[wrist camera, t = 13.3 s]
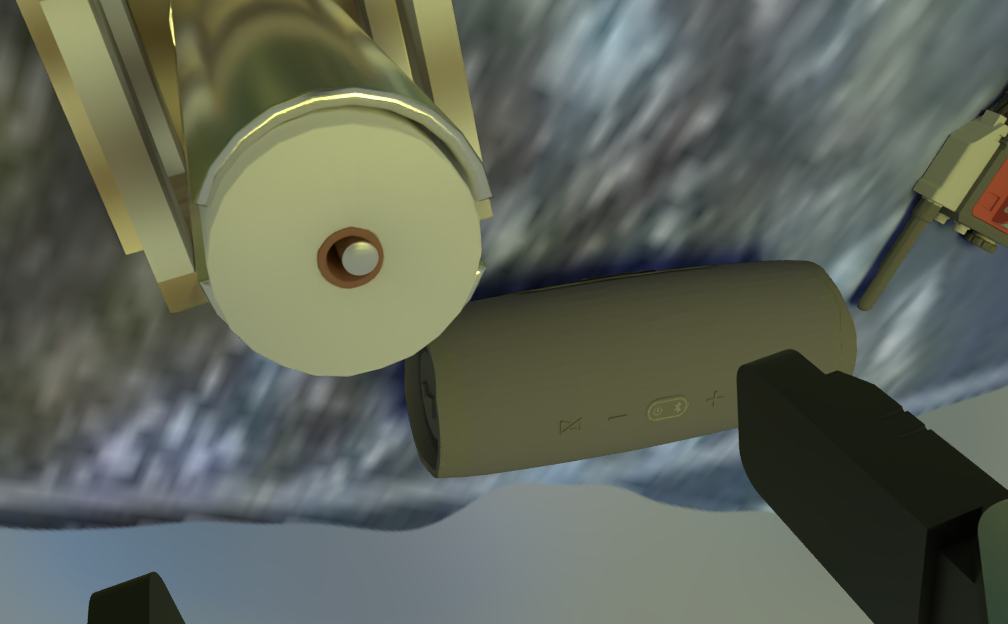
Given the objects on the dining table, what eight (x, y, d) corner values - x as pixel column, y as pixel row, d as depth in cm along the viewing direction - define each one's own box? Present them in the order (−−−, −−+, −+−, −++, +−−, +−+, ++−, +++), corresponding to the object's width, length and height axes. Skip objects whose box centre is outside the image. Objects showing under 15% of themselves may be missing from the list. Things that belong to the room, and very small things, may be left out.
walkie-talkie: (1025, 4, 54) (836, 295, 60) (1088, 18, 50) (880, 327, 56) (1104, 65, 58) (920, 332, 64) (1169, 82, 54) (967, 364, 60)
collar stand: (-46, -155, 34) (-148, -137, 23) (391, -240, 38) (499, -263, 26) (126, 246, 43) (117, 407, 31) (468, 148, 46) (575, 262, 35)
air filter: (279, 124, 42) (407, 435, 21) (140, 47, 39) (129, 326, 18) (353, -2, 40) (570, 199, 20) (216, -93, 37) (300, 31, 16)
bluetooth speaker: (399, 417, 53) (445, 531, 44) (391, 269, 48) (441, 365, 40) (747, 356, 59) (844, 446, 51) (769, 221, 55) (879, 295, 46)
